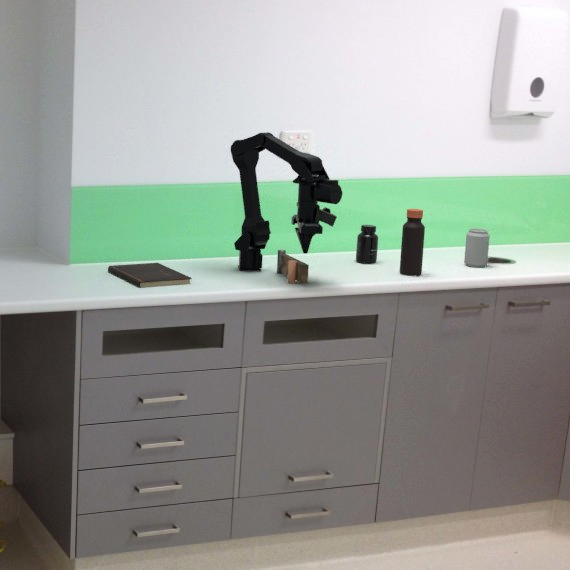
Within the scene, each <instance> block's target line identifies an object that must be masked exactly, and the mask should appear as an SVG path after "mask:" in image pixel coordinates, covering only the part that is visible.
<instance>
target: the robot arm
mask: <svg viewBox="0 0 570 570" xmlns="http://www.w3.org/2000/svg"><path fill="white" fill-rule="evenodd" d="M265 150H266V151H268V152H270V153H271V154H273V155H275V156H276V157H277V158H279V159H281V160H283V161H284V162H286V163H288V164H289V165H290V167H291V170H292V171H293V172H294V173H296V174H297V176H296V177H295V178H294V179H293V180H292V183H293V184H298V188H297V189H298V192H297V193H298V194H297V201H296V207H297V209H296V210H297V213H296V214H293V216H291V223H290V224H291V225H294V226H296V224H297V227H294V230H295V233H296V236H297V239H298V242H299V245H300V248H301V251H302V253H303V254H308V252H309V250H310V245H311V242H312V239H313V237H314V236H315V235H323V230H324V227H323V226H322V225H321V224H320V222H322V223H323V224H327V225H328V226H330V227H334V225H335V223H336V220H337V218H338V216H336V215H335V214H333V213H331V209H330V208H328V207H326V206H324V207H323V208H322V209H320V208H321V207H320V204H319V203H324V204H333V205H338V204H339V203H340V202H341V200H342V197H343V190H342V187H341V185H340V184H339V179H330V177H329V175H328V173H327V170H326V169H325V167H324V164H323V160H322V158H321V157H319V156H317V155H314V154H311V153H307V152H302V151H299V150H298V149H296V148H294V147H293V146H291V145H289V144H288V143H286V142H285V141H283V140H281V139H279V138H278V137H276V136H275V135H274V134H273V133H271V132H268V131H267V132H259V133H257V134H255V135H253V136H249V137H247V138H246V137H245V138H244V139H236V140H234V141H233V142H232V144H231V145H230V153H231V158H232V161H233V164H234V165H235V166H236V168H237V169H238V171H239V179H240V180H239V181H240V187H241V195H242V196H241V197H242V202H243V203H242V205H243V211H244V219H243V222H242V225H241V233H240V234H241V235H240V236H239V237H238V238H237V239H236V240H235V242H234V243H233V245H234V250H236V251H239V252H238V255H239V257H238V265H237V267H238V270H239V271H240V272H262V268H263V253H262V250H265V249H266V247H267V243H268V242H269V240H270V235H271V234H272V231H271V229H270V227H271V226H270V221H269V220H265V219H264V217H263V216H262V212H261V204H260V203H261V202H260V194H259V185H258V178H257V177H258V176H257V166H258V162H259V160H260V153H261V152H263V151H265Z"/></svg>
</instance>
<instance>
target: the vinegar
mask: <svg viewBox="0 0 570 570" xmlns="http://www.w3.org/2000/svg"><path fill="white" fill-rule="evenodd" d="M423 216H424V210H422V209H418V208H407V209H406V219H407V220H406V222H405V223H404V224H403V225H402V231H401V232H402V233H401V247H400V260H399V262H400V263H399V273H400V275H403V276H415V277H417V276H418V277H419V276H421V275H422V271H423V270H422V269H423V259H424V258H423V257H424V246H425V245H424V244H425V235H426V234H425V230H426V226H425V225H424V224H423V223H422V220H423Z"/></svg>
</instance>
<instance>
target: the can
mask: <svg viewBox="0 0 570 570" xmlns="http://www.w3.org/2000/svg"><path fill="white" fill-rule="evenodd" d="M488 232H489V230H488V229H484V228H469V229H468V232H467V233H466V236H465V237H466V238H465V248H464V249H465V250H464V258H463V259H464V260H463V261H464V262H463V263H464V264H465V266H467V267H470V268H484V267H485V266H487V265H488V260H489V250H490V248H489V247H490V238H491V237H490V236H491V235H490V234H489V233H488Z"/></svg>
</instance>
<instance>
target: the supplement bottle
mask: <svg viewBox="0 0 570 570" xmlns="http://www.w3.org/2000/svg"><path fill="white" fill-rule="evenodd" d="M376 233H377V226H376V225H373V224H361V227H360V232H359V233H358V234H357V237H356V250H355V251H356V252H355V261H356V262H357V263H359V264H367V265H369V264H370V265H373V264H376V263H377V259H378V247H379V236H378V234H376Z"/></svg>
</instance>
